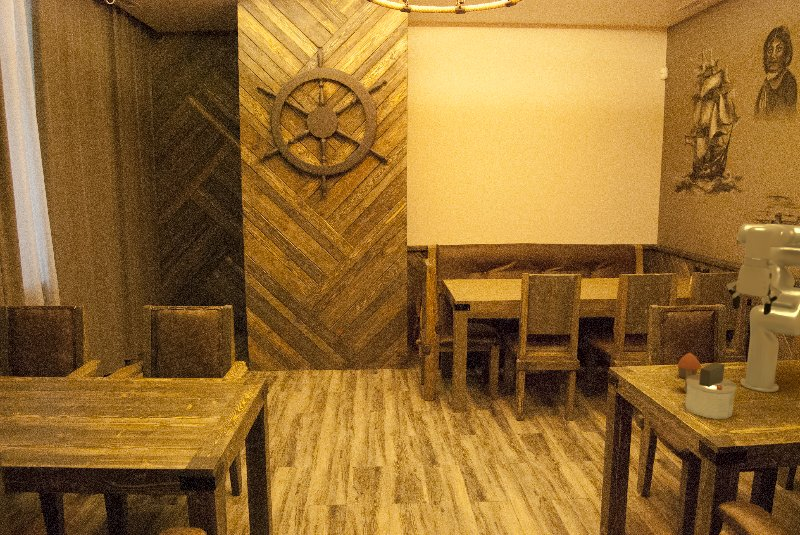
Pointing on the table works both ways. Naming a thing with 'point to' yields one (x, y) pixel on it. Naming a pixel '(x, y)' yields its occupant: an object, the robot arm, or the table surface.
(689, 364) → the mushroom
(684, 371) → the vase
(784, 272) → the robot arm
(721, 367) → the lid
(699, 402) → the pot
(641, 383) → the table surface
